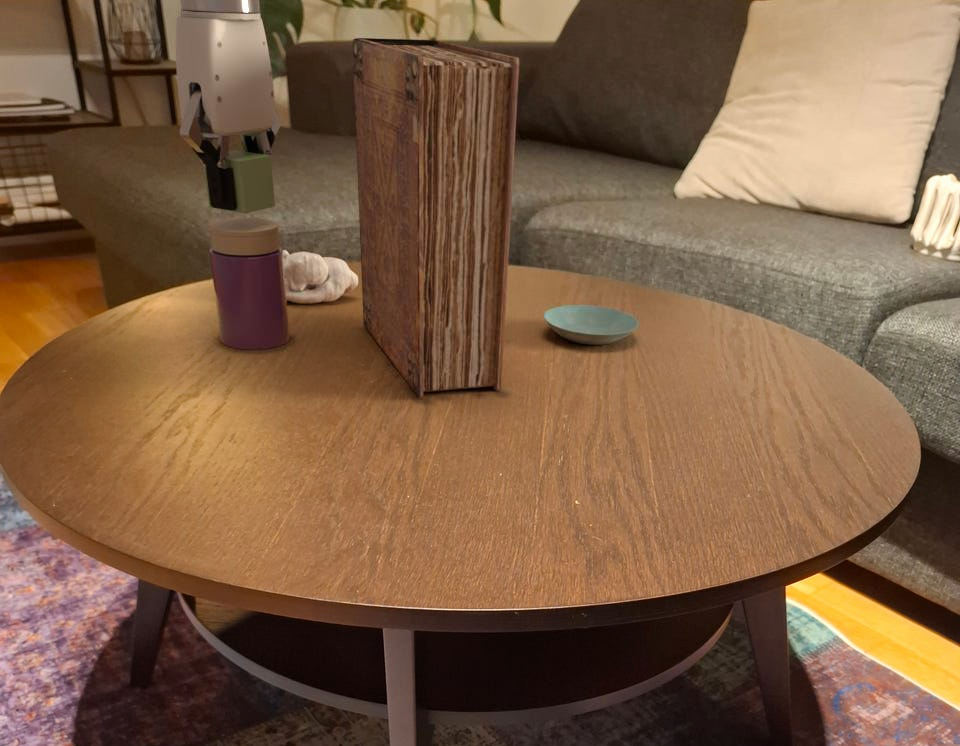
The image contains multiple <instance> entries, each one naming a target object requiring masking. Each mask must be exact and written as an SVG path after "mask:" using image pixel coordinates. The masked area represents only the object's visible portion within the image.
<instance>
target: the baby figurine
mask: <svg viewBox="0 0 960 746" xmlns="http://www.w3.org/2000/svg"><path fill="white" fill-rule="evenodd" d="M282 250H283V262H284V274H285V286H286V298H287V302H288V301H289V302H291V303H295V304H303V305H304V304H316V303H321V302H324V303H330V302H334V301H336V300H338V299H339V298H340V297H341V296H343V295H345V294H349V293H350V292H352V291H353V290H354V289H355V288H357V286H358V285H359V277H358V274H356V273H355V272H354V271H352V269H351V268H350V267H349V265H348V264H347V262H346V261H345V260H343V259H341V258H337V257H331V256H324V257H322V255H320V254H318V253H312V252H309V251H298V252H293V253H289V251H287V249H282Z"/></svg>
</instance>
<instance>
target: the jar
mask: <svg viewBox="0 0 960 746" xmlns="http://www.w3.org/2000/svg"><path fill="white" fill-rule="evenodd" d="M283 250H284V249H283V247H281V246H280V248H279V249H278V250H277V251H275V252H272V253H267V254H261V255H229V254H223V253H219V252H216V251H214V250H213V249H212V248H211V247H210V248H209V251H208V252H209V258H210V267H211V274H212V282H213V283H212V284H213V290H214V298H215V306H216V315H217V321H218V329H219V330H218V331H219V337H220V341H221V343H222V344H223V345H224V346H227V347H230V348H234V349H239V350H247V351H248V350H249V351H251V350H252V351H256V350H257V351H258V350H259V351H260V350H269V349H274V348H278V347H280V346H284V345H286V344H287V343H288V342H290V339H291V338H290V324H289V313H288V312H289V310H288V300H287V298H286V286H285V274H284V262H283Z"/></svg>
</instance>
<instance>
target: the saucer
mask: <svg viewBox="0 0 960 746" xmlns="http://www.w3.org/2000/svg"><path fill="white" fill-rule="evenodd" d="M543 320H544V321H545V322H546V324H547V325H548V326H549V328H551V329H552V330H553V331H554V332H555V333H556V334H557V335H558V336H560V337H562V338H564V339H566V340H567V341H569V342H573V343H576V344H580V345H589V346H591V345H592V346H602V345H610V344H613V343H616V342H618V341H621V340H622V339H624V338H626V337H627V336H629V335H631V334H632V333H633V332H634V331H636V329H637V328H638V327H639V326H640V323H639V320H638V319H637V318H636V317H634V316H633V315H631V314H630V313H627V312H624V311H621V310H620V309H619V310H618V309H615V308H611V307H605V306H599V305H589V304H567V305H559V306H555V307H551V308H549V309H547V310H546V311H545V312H544V313H543Z"/></svg>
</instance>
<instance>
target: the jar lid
mask: <svg viewBox="0 0 960 746" xmlns="http://www.w3.org/2000/svg"><path fill="white" fill-rule="evenodd" d="M208 230H209V231H208V232H209V238H210V239H209V240H210V248H212V249H213V250H214V251H216V252H219V253H223V254H229V255H261V254H267V253H272V252H275V251H277V250H278V249H279V248H280V247H281V243H280V232H279V224H278V223H277V221H274V220H272V219H267V218H262V217H248V216H247V217H246V216H244V217H243V216H242V217H241V216H237V217H225V218H219V219H216V220H212V221H210V222H209V223H208Z"/></svg>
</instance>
